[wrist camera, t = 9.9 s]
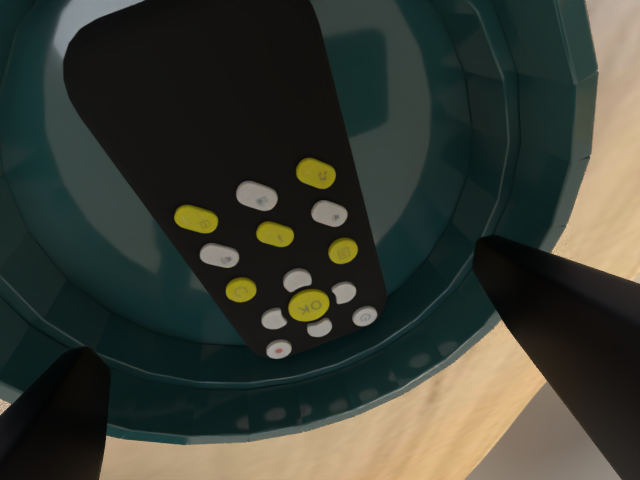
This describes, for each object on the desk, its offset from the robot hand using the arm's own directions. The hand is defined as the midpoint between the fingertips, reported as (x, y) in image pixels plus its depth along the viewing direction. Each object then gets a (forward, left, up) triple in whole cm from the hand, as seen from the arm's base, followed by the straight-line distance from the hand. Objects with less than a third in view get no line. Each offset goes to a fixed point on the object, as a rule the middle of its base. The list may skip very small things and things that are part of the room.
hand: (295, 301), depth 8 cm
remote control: (0, 0, -5) cm, 5 cm away
